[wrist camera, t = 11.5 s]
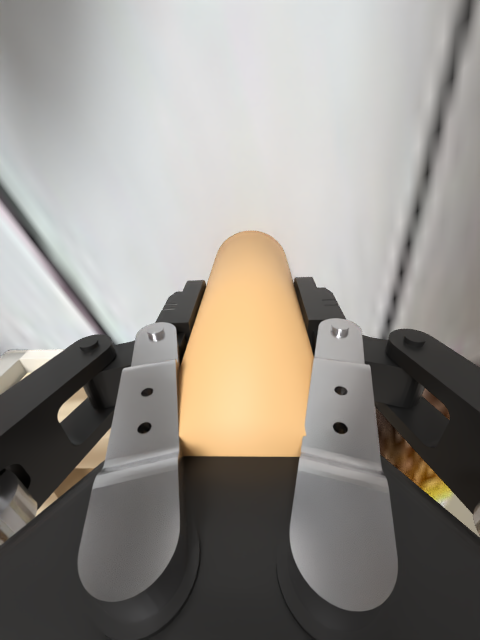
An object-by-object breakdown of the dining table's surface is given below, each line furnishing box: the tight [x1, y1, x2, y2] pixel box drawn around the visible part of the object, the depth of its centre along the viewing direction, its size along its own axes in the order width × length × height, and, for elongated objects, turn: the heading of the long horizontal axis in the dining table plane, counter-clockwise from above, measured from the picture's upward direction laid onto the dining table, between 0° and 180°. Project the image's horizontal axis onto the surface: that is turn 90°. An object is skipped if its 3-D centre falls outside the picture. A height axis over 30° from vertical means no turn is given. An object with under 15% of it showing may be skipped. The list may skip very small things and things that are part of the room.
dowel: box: [179, 231, 314, 457], centre depth 11 cm, size 4×4×12 cm
